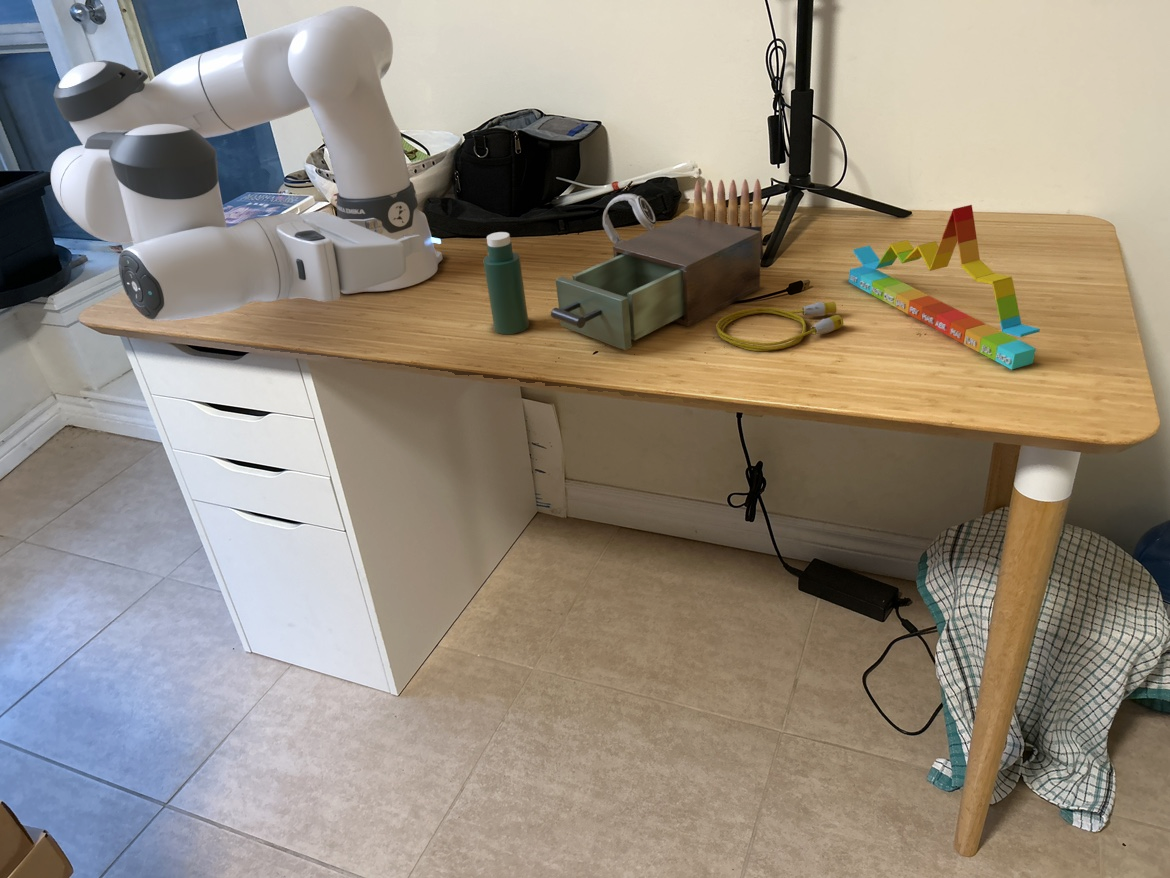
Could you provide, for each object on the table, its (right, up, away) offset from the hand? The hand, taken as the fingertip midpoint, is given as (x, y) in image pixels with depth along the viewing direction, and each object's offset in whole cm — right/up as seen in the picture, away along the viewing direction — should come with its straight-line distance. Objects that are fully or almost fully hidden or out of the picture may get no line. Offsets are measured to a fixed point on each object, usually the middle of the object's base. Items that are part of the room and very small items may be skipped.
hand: (399, 233), depth 101 cm
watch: (+29, +3, +32) cm, 44 cm away
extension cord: (+47, -11, +8) cm, 49 cm away
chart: (+66, -9, +7) cm, 67 cm away
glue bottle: (+12, -9, +17) cm, 22 cm away
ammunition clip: (+44, +4, +31) cm, 54 cm away
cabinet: (+37, -4, +20) cm, 42 cm away
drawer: (+27, -9, +12) cm, 31 cm away
